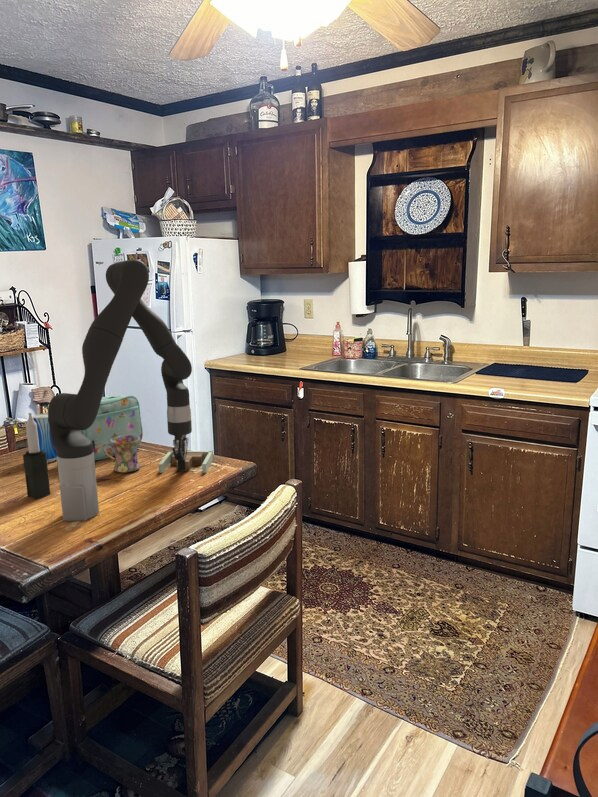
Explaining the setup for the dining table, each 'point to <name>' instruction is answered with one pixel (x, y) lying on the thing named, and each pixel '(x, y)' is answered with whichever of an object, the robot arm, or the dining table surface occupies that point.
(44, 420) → the beer can
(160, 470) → the bay
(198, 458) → the t block
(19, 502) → the dining table surface
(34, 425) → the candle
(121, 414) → the lunch box
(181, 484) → the dining table surface
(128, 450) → the mug
